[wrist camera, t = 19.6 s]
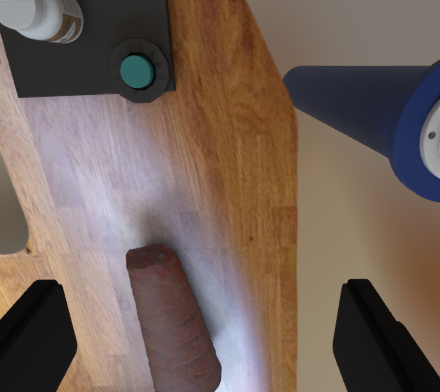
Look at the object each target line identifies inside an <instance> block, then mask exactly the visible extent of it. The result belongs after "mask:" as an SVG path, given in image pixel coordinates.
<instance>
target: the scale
mask: <svg viewBox="0 0 440 392" xmlns="http://www.w3.org/2000/svg"><path fill="white" fill-rule="evenodd" d="M76 2H77V3H78V4H79V6H80V8H81V11H82V14H83V19H84V23H83V29H82V32H81V34H80V35H79V37H78V38H77V39H75V40H74V41H72V42H69V43H56V42H48V41H42V40H36V39H31V38H28V37H26V36H24V35H22V34H21V33H19V32H18V31H17V30H15V29H11V28H8V27H6V26H4V25H3V24H1V23H0V33H1V37H2V40H3V44H4V47H5V51H6V55H7V58H8V62H9V66H10V69H11V73H12V76H13V80H14V84H15V87H16V91H17V95H18V98H29V97H52V96H75V95H99V94H119V95H120V96H122V97H124V98H126V99H128V100H130V101H132V102H133V103H150V102H152V101H154V100H155V99H157V98H158V97H160V96H161V95H163V94H164V93H165V92H168V91H175V90H176V88H175V77H174V66H173V55H172V44H171V33H170V22H169V10H168V0H76ZM132 55H137V56H142V57H145V58H146V59H147V60H149V62H150V63H151V64H152V66H153V70H154V76H153V79H152V81H151V83H150V84H148V85H147V86H145V87H141V88H133V87H130V86H129V85H127V84H126V83H125V82H124V81H123V79H122V77H121V73H120V67H121V64H122V62H123V60H124V59H125V58H127V57H128V56H132Z"/></svg>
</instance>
